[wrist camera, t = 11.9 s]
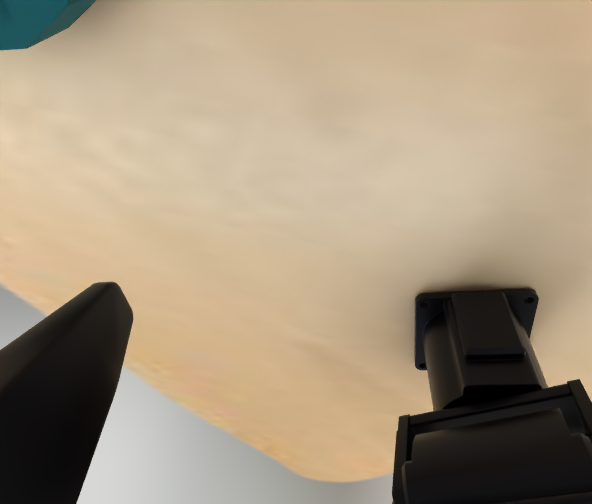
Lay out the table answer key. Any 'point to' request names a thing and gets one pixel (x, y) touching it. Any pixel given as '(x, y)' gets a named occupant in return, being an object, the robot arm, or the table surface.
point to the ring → (36, 20)
